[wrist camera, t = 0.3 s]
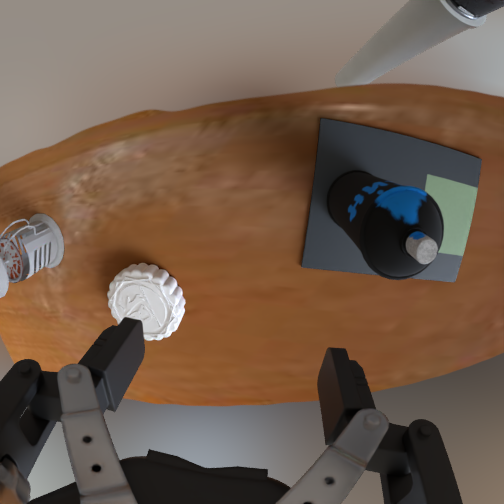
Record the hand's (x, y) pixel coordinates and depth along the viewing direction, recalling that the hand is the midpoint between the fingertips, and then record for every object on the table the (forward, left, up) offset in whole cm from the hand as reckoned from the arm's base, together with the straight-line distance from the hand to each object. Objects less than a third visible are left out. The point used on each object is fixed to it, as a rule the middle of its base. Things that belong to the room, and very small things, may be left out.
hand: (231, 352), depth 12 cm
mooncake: (+15, -15, -29) cm, 36 cm away
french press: (+7, -35, -29) cm, 46 cm away
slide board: (-3, +20, -29) cm, 35 cm away
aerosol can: (-3, +13, -29) cm, 32 cm away
